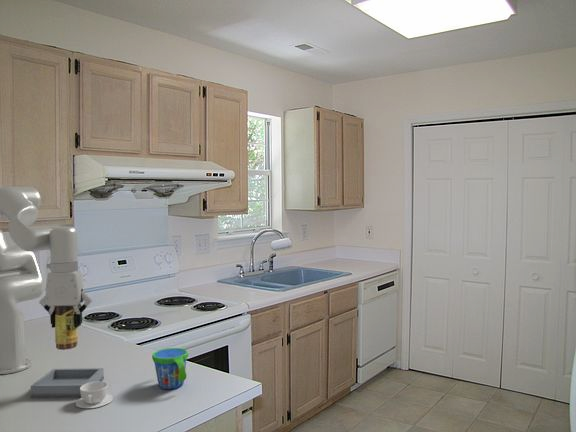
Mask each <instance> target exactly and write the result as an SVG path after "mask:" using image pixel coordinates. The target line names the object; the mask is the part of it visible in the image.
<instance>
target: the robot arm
mask: <svg viewBox="0 0 576 432" xmlns="http://www.w3.org/2000/svg"><path fill="white" fill-rule="evenodd" d="M41 198H42V197H41V195H40V193H39V191H38V190H37V189H36V188H34V187H32V186H1V187H0V221H5V220H6V221H8V234H9V237H10V239H11V240H12V242H13V243H14V244H15V245H14V244H13V245H10V244H9V243H8V241H7V238H6V235H5V232H3V230H2V229H1V228H0V275H4V274H5V275H4V276H0V375H9V374H14V373H18V372H21V371H24V370H26V369H28V368H30V367H31V366H32V361H31V360H30V359H27V358H26V357H27V356H26V355H27V353H26V331H25V328H26V326H25V314H24V312H23V311H22V310H21V308H20V307H19V306H18V305H17V303H23V302H26V301H31V300H36V299H39V298H40V297H42V295H43V294H44V291H45V295H44V296H43V297H42V298H41V299H40V300H39V301H38V303H39V304H40V306H41V307H43V309H44V310H46V312H47V313H48V315H49V316H50V319H49V320H50V325H51V328H52V329H55V306H73V308H74V310H75V312H76V314H75V315H74V325H75V327H78V328H79V327H80V326H81V325H82V324H83V312H84V311H85V310H86V309H87V307H88V306H89V305H91V303H93V299H92V298H90V296H88V295H87V294H86V293H85V291H84V281H83V277H82V273H81V270H79V260H78V259H79V258H78V253H79V252H78V231H77V229H76V228H75V227H73V226H64V225H62V224H61V225H60V224H49V225H48V224H47V225H35V226H34V225H33V224H34V223H35V222H36V221H37V219H38V216H39V210H38V209H39V208H40V206H41V203H42V199H41ZM32 225H33V226H32ZM40 251H49V253H50V254H49V255H50V257H49V258H50V262H49V263H47V264H46V265H45V266H46V269H49V271H50V272H48V273H47V277H46V284H45V283H44V278H43V276H42V272H41V270H40V266H39V263H38V261H37V260H38V259H37V257H36V254H35V252H40ZM14 273H18V274H14ZM6 274H7V275H6ZM8 274H10V275H8ZM11 274H12V275H11ZM83 302H84V303H83ZM82 303H83V304H82Z"/></svg>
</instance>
